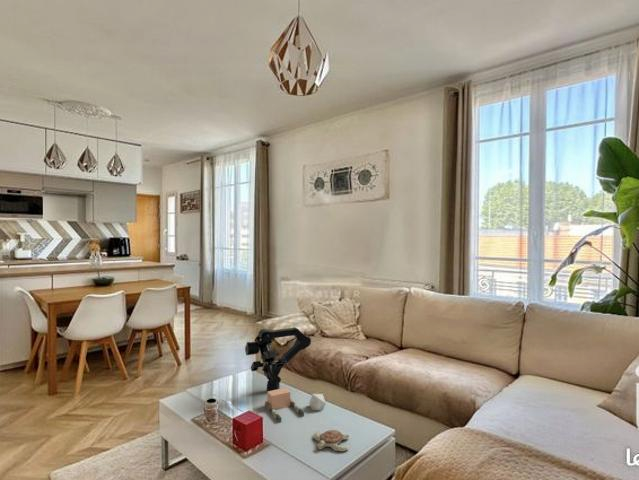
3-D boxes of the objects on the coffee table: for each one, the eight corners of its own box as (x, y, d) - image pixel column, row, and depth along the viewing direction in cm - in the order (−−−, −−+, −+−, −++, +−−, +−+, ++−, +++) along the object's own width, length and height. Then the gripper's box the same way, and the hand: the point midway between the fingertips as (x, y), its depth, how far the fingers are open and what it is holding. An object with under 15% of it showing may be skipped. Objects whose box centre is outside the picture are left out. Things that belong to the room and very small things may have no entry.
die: (319, 417, 180) (330, 399, 183) (304, 407, 181) (315, 389, 184) (319, 415, 188) (329, 398, 190) (305, 406, 189) (315, 388, 192)
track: (264, 408, 187) (264, 401, 187) (287, 403, 194) (287, 396, 194) (279, 425, 171) (279, 418, 171) (304, 419, 177) (304, 411, 177)
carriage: (267, 405, 188) (267, 391, 188) (285, 401, 193) (285, 387, 193) (271, 410, 183) (271, 396, 183) (290, 405, 188) (290, 392, 188)
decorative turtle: (302, 443, 157) (302, 431, 157) (328, 428, 169) (328, 417, 169) (334, 461, 145) (334, 448, 145) (359, 443, 157) (360, 432, 157)
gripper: (253, 346, 194) (259, 374, 184) (285, 342, 203) (293, 369, 193) (247, 357, 200) (254, 384, 191) (279, 352, 210) (287, 379, 200)
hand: (272, 379), depth 194 cm, fingers closed
